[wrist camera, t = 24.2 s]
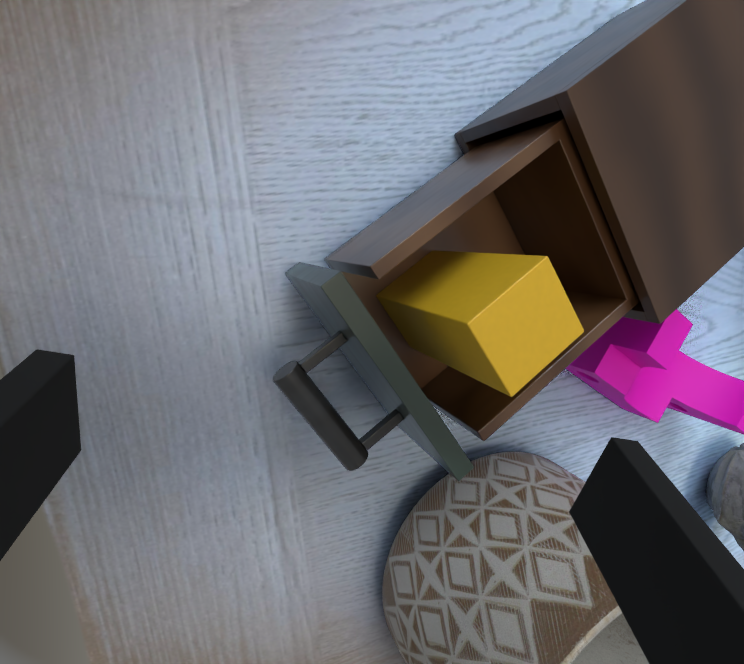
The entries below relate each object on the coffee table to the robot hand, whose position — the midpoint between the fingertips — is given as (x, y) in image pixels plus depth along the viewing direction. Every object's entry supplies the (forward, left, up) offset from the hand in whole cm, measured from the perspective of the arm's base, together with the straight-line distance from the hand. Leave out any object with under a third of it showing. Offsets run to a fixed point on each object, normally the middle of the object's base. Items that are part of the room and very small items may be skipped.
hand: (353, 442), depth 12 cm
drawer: (+5, +9, -19) cm, 21 cm away
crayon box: (+5, +9, -18) cm, 21 cm away
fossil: (+43, +27, -20) cm, 55 cm away
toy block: (+23, +23, -20) cm, 38 cm away
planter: (+27, +3, -20) cm, 34 cm away
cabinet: (+5, +27, -20) cm, 34 cm away
